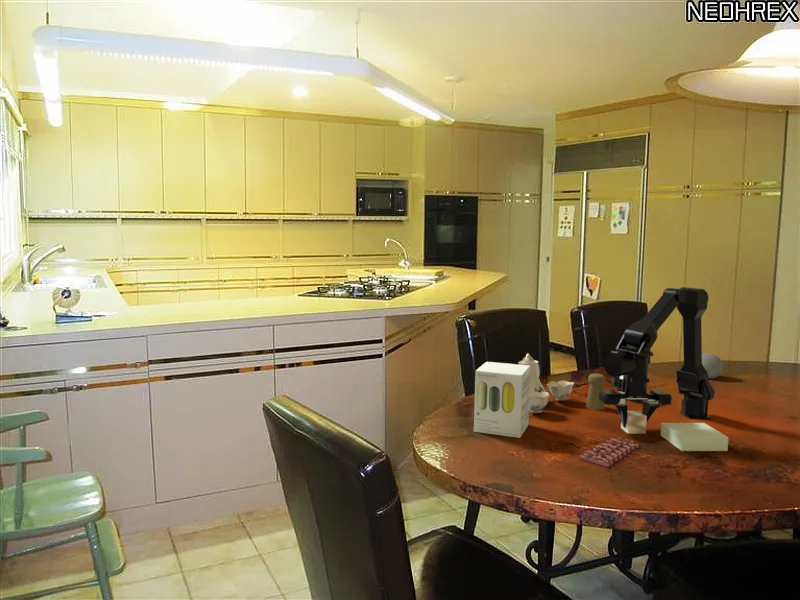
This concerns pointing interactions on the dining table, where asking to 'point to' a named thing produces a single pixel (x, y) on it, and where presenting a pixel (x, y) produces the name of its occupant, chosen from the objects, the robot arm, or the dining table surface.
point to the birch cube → (635, 423)
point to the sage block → (694, 437)
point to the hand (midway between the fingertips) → (633, 427)
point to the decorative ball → (712, 365)
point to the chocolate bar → (609, 452)
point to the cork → (595, 392)
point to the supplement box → (502, 399)
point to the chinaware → (537, 391)
